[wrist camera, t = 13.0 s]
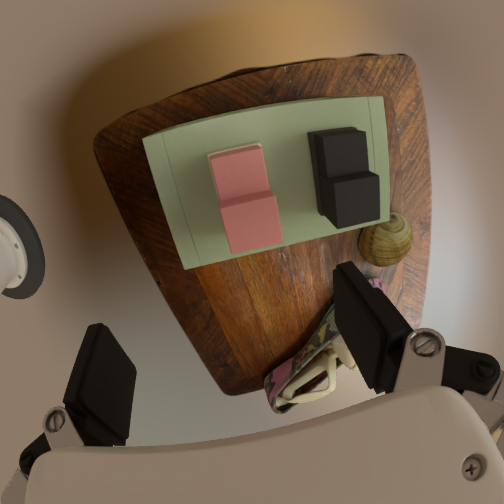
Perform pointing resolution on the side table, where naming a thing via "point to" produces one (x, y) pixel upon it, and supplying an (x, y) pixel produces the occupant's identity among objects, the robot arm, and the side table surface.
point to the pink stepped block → (245, 197)
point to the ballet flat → (312, 365)
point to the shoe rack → (277, 166)
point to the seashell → (386, 241)
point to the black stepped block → (344, 177)
